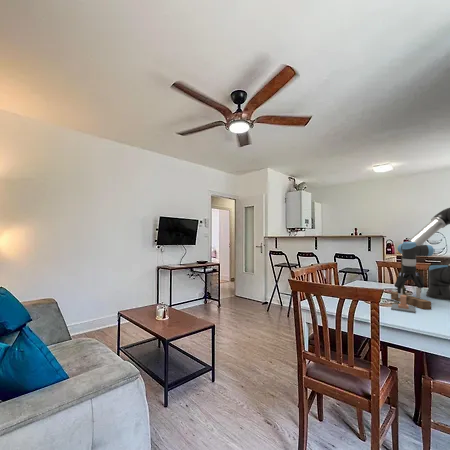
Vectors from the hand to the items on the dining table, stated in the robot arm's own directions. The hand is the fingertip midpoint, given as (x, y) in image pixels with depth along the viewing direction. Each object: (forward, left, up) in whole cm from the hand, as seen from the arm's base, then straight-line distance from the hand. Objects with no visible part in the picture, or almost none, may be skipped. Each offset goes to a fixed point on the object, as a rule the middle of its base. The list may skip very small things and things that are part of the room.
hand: (409, 298), depth 175 cm
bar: (0, 0, -4) cm, 4 cm away
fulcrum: (+13, +11, -4) cm, 17 cm away
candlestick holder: (-9, -17, -4) cm, 20 cm away
